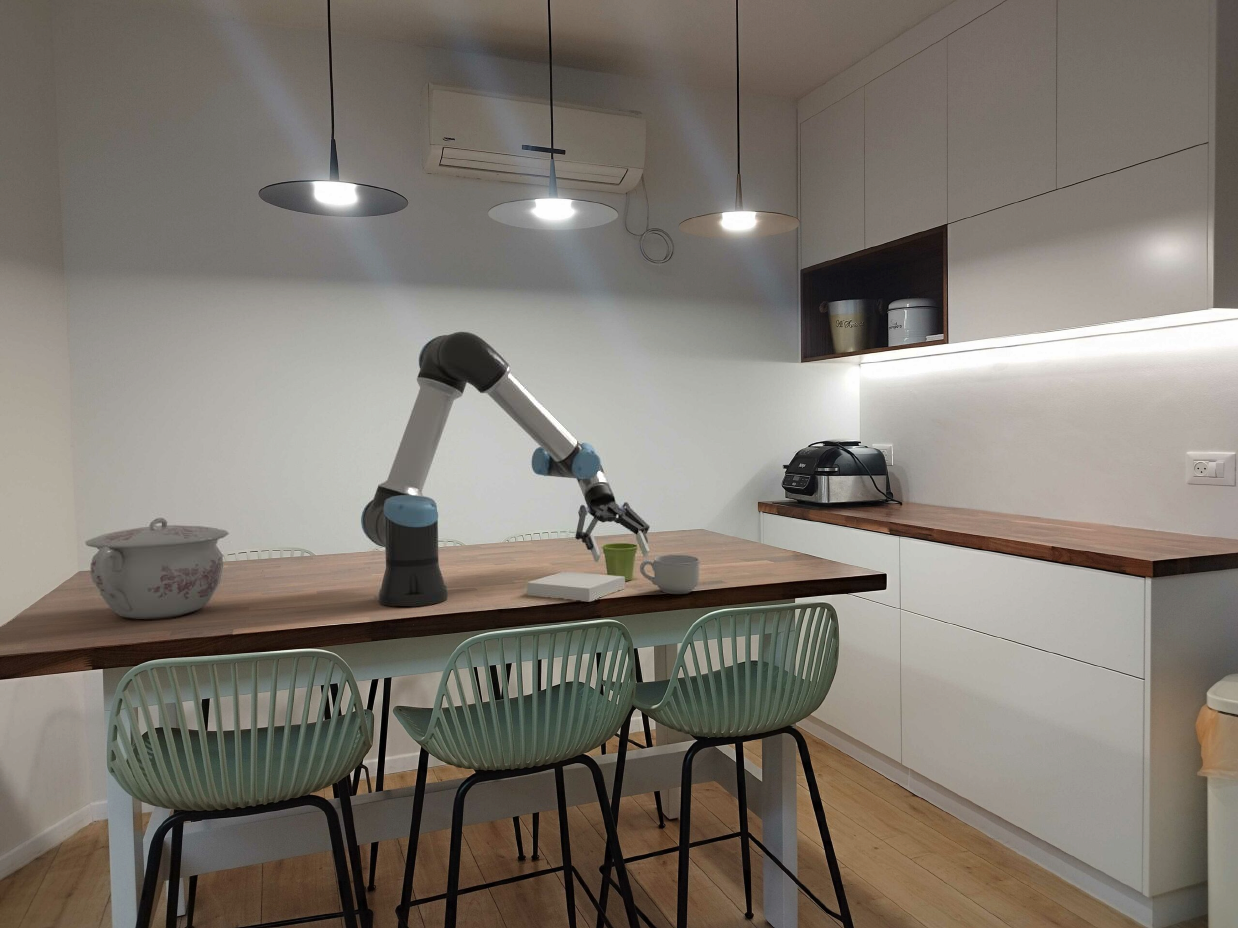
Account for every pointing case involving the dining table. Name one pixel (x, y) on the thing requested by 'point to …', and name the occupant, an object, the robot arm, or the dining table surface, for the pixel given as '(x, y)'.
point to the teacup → (674, 573)
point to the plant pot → (620, 559)
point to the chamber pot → (157, 569)
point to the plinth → (575, 586)
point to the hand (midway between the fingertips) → (622, 556)
